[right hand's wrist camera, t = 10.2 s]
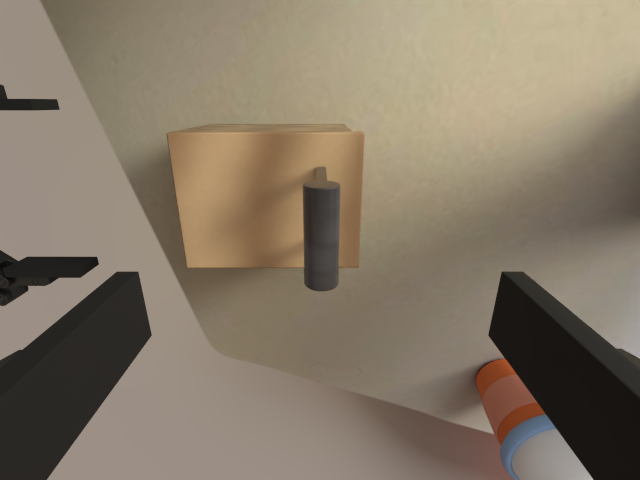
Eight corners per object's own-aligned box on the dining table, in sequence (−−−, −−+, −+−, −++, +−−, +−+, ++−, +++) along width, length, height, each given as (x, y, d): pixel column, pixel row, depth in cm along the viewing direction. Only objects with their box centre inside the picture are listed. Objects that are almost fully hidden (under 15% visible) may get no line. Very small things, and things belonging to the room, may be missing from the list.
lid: (362, 131, 25) (383, 144, 17) (357, 261, 28) (372, 323, 20) (172, 131, 25) (102, 144, 17) (191, 262, 28) (141, 323, 20)
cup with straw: (458, 405, 46) (539, 580, 29) (469, 348, 42) (567, 508, 26) (528, 405, 46) (649, 580, 29) (544, 348, 42) (691, 508, 26)
